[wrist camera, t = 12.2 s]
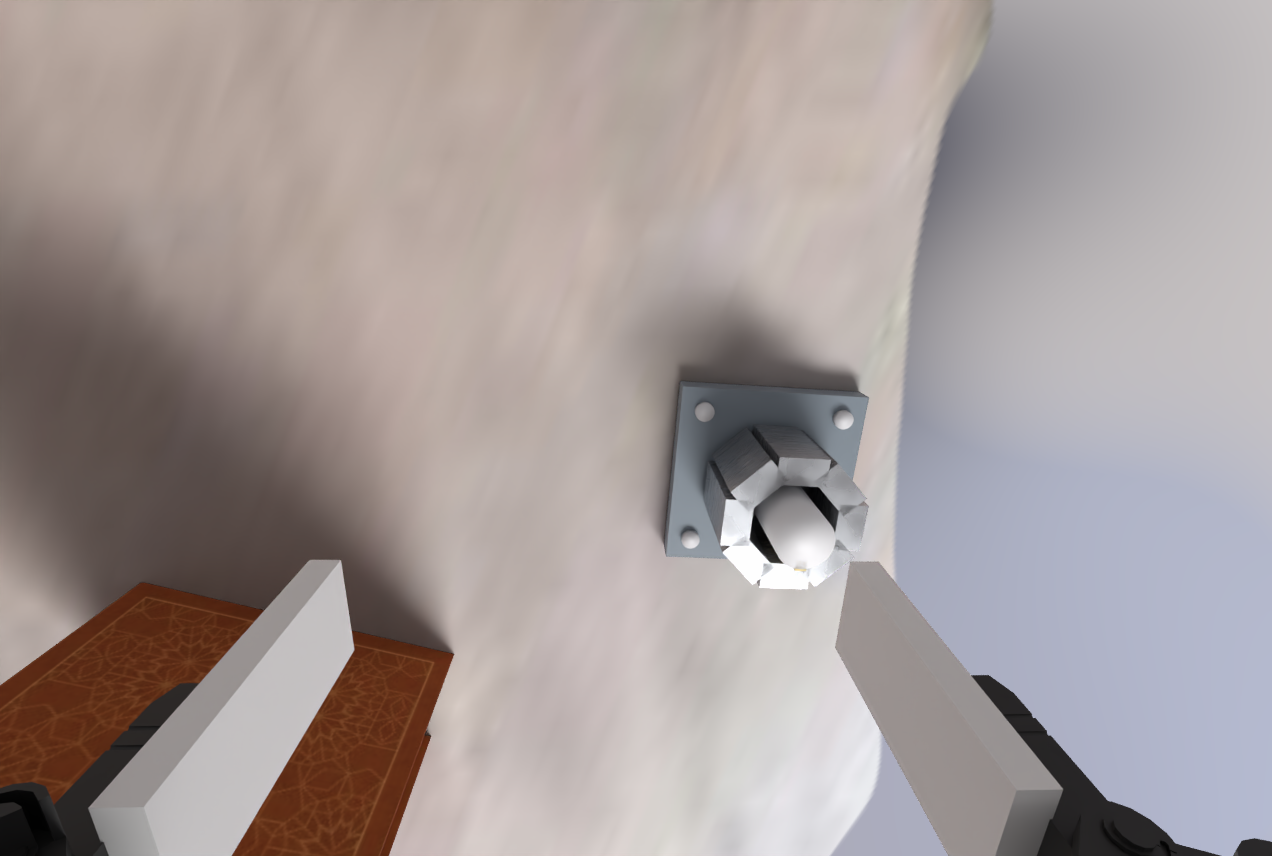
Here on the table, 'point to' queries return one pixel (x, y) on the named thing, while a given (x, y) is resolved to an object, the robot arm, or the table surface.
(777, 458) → the hub
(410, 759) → the book
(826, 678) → the table surface
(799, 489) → the shaft block
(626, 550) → the table surface
